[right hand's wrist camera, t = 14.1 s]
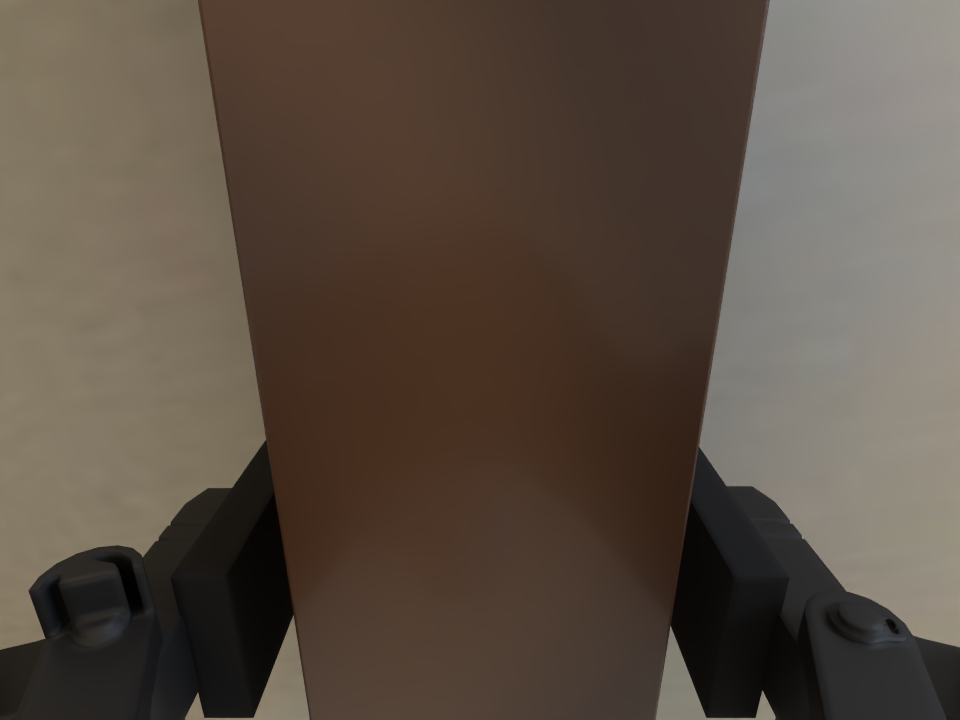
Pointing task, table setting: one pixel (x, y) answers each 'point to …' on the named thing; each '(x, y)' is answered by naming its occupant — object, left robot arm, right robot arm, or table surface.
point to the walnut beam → (483, 330)
